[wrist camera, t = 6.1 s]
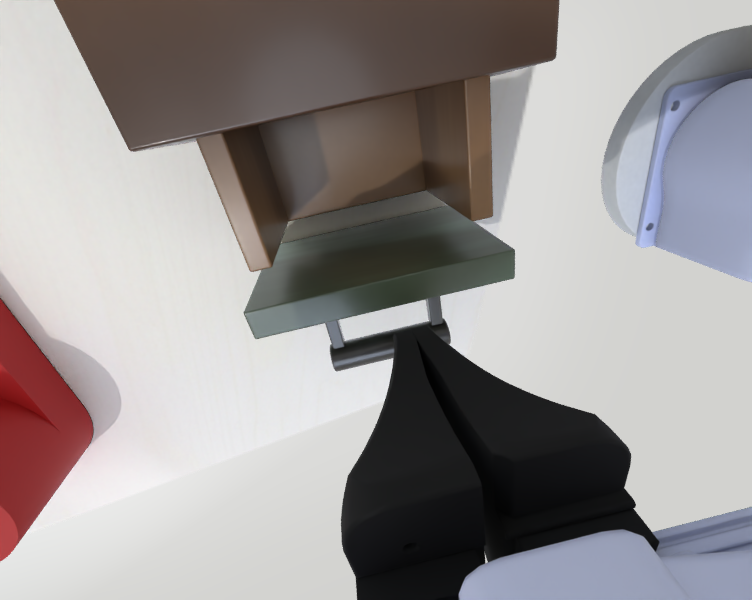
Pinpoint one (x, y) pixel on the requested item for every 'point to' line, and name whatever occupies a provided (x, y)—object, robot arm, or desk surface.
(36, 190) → the desk surface
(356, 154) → the drawer
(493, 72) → the cabinet
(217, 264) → the desk surface
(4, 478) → the lever
